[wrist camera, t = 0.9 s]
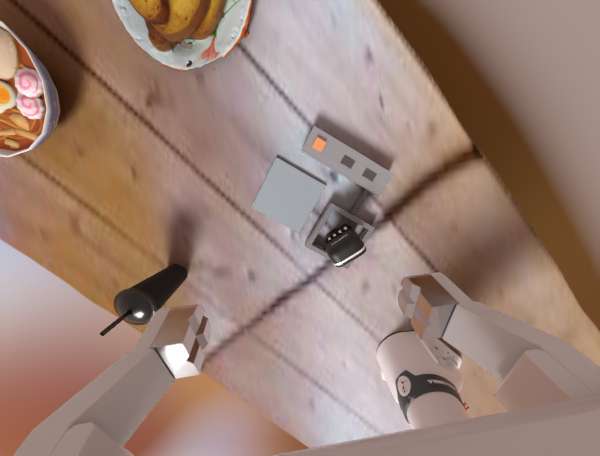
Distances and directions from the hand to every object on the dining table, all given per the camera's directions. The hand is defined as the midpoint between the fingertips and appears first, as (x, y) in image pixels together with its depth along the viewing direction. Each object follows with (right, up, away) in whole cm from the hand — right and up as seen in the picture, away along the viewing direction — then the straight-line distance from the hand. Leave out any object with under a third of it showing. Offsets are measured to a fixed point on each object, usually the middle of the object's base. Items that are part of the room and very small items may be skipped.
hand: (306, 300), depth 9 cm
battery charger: (+8, +2, +40) cm, 41 cm away
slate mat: (-3, +10, +38) cm, 39 cm away
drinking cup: (-30, -8, +44) cm, 54 cm away
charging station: (+6, +9, +38) cm, 39 cm away
